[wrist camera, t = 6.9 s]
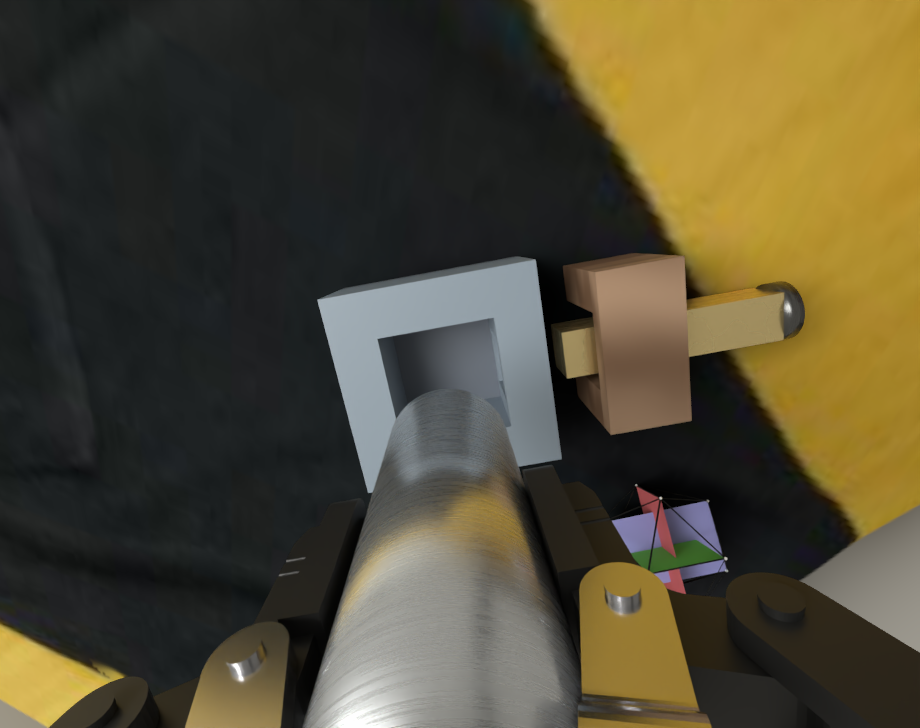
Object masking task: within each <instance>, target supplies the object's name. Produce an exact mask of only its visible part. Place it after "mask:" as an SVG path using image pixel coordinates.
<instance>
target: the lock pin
mask: <svg viewBox="0 0 920 728" xmlns="http://www.w3.org/2000/svg"><path fill="white" fill-rule="evenodd" d="M686 303H687V326H688V348H689V357H691V356H697V355H702V354H708V353H713V352H719V351H725V350H730V349H736V348H741V347H747V346H753V345H758V344H764V343H769V342H775V341H781V340H784V339H788V338H792V337H794V336H796V335H797V334H798V333H799V331H800V330H801V328H802V326H803V323H804V317H805V310H804V304H803V301H802V298H801V296H800V294H799V292H798V291H797V290H796V289H795V288H794V287H793V286H792V285H791V284H789V283H787V282H782V281H780V282H774V283H769V284H763V285H760V286H758V287H757V288H749V289H743V290H738V291H732V292H727V293H721V294H716V295H710V296H705V297H699V298H694V299H688V300H686ZM551 330H552V338H553V346H554V354H555V362H556V367H557V368H558V369H559V370H560V371H561V372H562V373H563V375H564V376H565V377H566V378H567V379H568V378H574V377H579V376H585V375H590V374H596V373H599V371H598V361H597V351H596V341H595V331H594V321H593V317H589V318H583V319H578V320H572V321H567V322H561V323H556V324H551Z"/></svg>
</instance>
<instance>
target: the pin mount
mask: <svg viewBox="0 0 920 728" xmlns="http://www.w3.org/2000/svg"><path fill="white" fill-rule="evenodd" d="M563 272H564V281H565V289H566V298H567V301H569V302H571V303H573V304H575V305H577V306H579V307H582V308H584V309H586V310H588V311H590V312H592V313H593V321H594V331H595V341H596V351H597V361H598V371H599V373H596V374H590V375H585V376H579V377H576V385H577V393H578V397H579V398H580V399H581V400H582V402H583V403H584V404H585V405H586V406H587V407H588V409H589V410H590V411H591V412H592V413H593V414H594V416H595V417H596V418H597V419H598V420H599V421H600V423H601V424H602V425H603V426H604V427H605V429H606V430H607V431H608V432H609V433H610V434H611V435H614V434H620V433H625V432H631V431H637V430H642V429H648V428H654V427H659V426H665V425H671V424H676V423H682V422H688V421H692V415H691V393H690V371H689V348H688V326H687V303H686V281H685V258H684V256H677V255H657V254H638V253H630V254H625V255H620V256H614V257H609V258H603V259H598V260H592V261H587V262H582V263H576V264H571V265H565V266H563Z"/></svg>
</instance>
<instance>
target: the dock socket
mask: <svg viewBox="0 0 920 728" xmlns="http://www.w3.org/2000/svg"><path fill="white" fill-rule="evenodd" d="M318 304H319V308H320V312H321V315H322V319H323V323H324V327H325V331H326V334H327V338H328V342H329V346H330V350H331V353H332V357H333V361H334V365H335V369H336V372H337V376H338V380H339V384H340V388H341V391H342V395H343V399H344V403H345V407H346V410H347V414H348V418H349V422H350V425H351V429H352V433H353V437H354V441H355V444H356V448H357V452H358V456H359V460H360V463H361V467H362V471H363V475H364V479H365V482H366V486H367V490H368V493H371V492H373V490H374V487H375V483H376V480H377V477H378V473H379V470H380V467H381V463H382V460H383V457H384V454H385V450H386V447H387V444H388V440H389V437H390V434H391V430H392V427H393V425H394V422H395V420H396V419H397V417H398V415H399V414H400V412H401V411H402V410H403V409H404V408H405V407H406V406H407V405H408V404H409V403H410V402H411V401H413V400H414V399H416V398H417V397H419V396H421V395H423V394H426V393H428V392H431V391H435V390H441V389H457V390H463V391H467V392H471V393H473V394H475V395H478V396H479V397H481V398H483V399H484V400H486V401H487V402H488V403H490V404H491V405H492V406H493V407H494V408H495V409H496V411H497V412H498V413H499V414H500V416H501V418H502V420H503V421H504V424H505V427H506V429H507V432H508V436H509V439H510V442H511V445H512V448H513V451H514V454H515V458H516V461H517V464H518V467H519V466H525V465H531V464H536V463H542V462H548V461H554V460H559V459H562V457H561V449H560V442H559V434H558V426H557V419H556V411H555V404H554V396H553V388H552V381H551V373H550V365H549V358H548V350H547V342H546V335H545V327H544V319H543V312H542V304H541V297H540V289H539V281H538V274H537V266H536V260H535V259H530V258H524V257H519V256H516V257H510V258H505V259H499V260H494V261H489V262H483V263H478V264H472V265H467V266H462V267H456V268H451V269H445V270H440V271H434V272H429V273H424V274H418V275H413V276H407V277H402V278H397V279H391V280H386V281H380V282H375V283H370V284H364V285H359V286H353V287H348V288H344V289H341V290H339V291H337V292H334V293H332V294H330V295H327V296H325V297H323V298H321V299H318Z"/></svg>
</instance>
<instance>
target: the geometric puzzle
mask: <svg viewBox="0 0 920 728" xmlns="http://www.w3.org/2000/svg"><path fill="white" fill-rule="evenodd" d="M636 487H637V491H638V495H639V499H640V503H641V506H639V507H636V508H634V509H632V510H629V511H627V512H625V511H626V508H627V506H628V504H629V502H630V500H631V497H632V495H633V493H634V491H635V488H636ZM641 487H642V486H638V485H637V484H635V488H634V490H633V492H632V494H631V497H630V499H629V501H628V503H627V506H626V508H625V510H624V512H623V513H622V514H619V515H617V516H615V517H612V518H610V520H611V519H613V518H616V517H618V516H621V515H622V517H623V515H624V514H625V513H628V512H630V511H633V510H635V509H638V508H640V507H642V510H643V514H642V515H637V516H632V517H628V518H623V519H622V517H621V519H618V520H613V521H612V522H613V524H614V526H615V527H616V529H617V531H618V532H619V534H620V536H621V537H622V539H623V541H624V542H625V544H626V546H627V548H628V549H629V551H630V553H631V554H632V556H633V558H634V559H635V561H636V563H637V564H638V566H640V567H643V568H645V569H647V570H649V571H650V572H652V573H653V574H655V575H656V576H657V577H658V578H659V579H660V580H661V581H662V582H663V584H664V585H665V587H666V588H667V589H670V590H673V591H676V592H679V593H684V594H686V593H685V589H684V585H683V584H685V583H688V582H691V581H695V580H698V579H701V578H705V577H708V576H711V575H715V574H718V573H721V572H725V571H726V572H728V570H727V566H726V565H725V562H726V560H727V557H725V554H724V551H723V548H722V551H723V554H724V556H723V554H722V551H721V547H722V545H721V547H720V544H721V542H720V543H719V541H720V538H719V535H718V532H717V533H716V531H717V529H715V528H716V525H715V522H714V519H713V516H712V513H711V509H710V506H709V503H708V502H709V500H703V499H699V500H690V499H673V498H662V497H658V496H656V495H654V494H653V493H651V492H649V491H647V490H645V489H643V488H641ZM644 488H647V487H644ZM649 489H652V488H649ZM653 490H656V489H653ZM658 491H661V490H658ZM662 492H665V491H662ZM667 493H670V492H667ZM672 494H675V493H672ZM676 495H679V494H676ZM626 496H627V495H626ZM626 496H625V497H626ZM681 496H684V495H681ZM625 497H624V498H625ZM685 497H689V496H685ZM624 498H623V499H624ZM690 498H693V497H690ZM623 499H622V500H623ZM663 499H671V500H690V501H704V502H699V503H694V504H689V505H685V506H680V507H675V508H672V507H671V506H670V505H668V504H667V503H666V502H665V501H664V500H663ZM695 499H698V498H695ZM622 500H621V501H622ZM661 500H662V501H663V502H664V503H665V504H666V505H667V506H669V507H670V509H666V510H664V509H663V505H662V502H661ZM621 501H620V502H621ZM620 502H619V503H620ZM619 503H618V504H619ZM618 504H617V505H618ZM617 505H616V506H617ZM616 506H615V507H616ZM615 507H614V508H615ZM614 508H613V509H614ZM613 509H612V510H613ZM612 510H611V511H612ZM611 511H610V512H611ZM610 512H609V513H610ZM609 513H608V514H609ZM717 535H718V536H717ZM718 538H719V540H718ZM724 561H725V562H724ZM712 573H713V574H712ZM707 574H710V575H707ZM724 574H725V573H724ZM702 575H707V576H703V577H700V578H697V579H694V580H690V581H687V582H684V583H683V582H682V580H683V579H688V578H693V577H697V576H702ZM716 576H717V575H716ZM716 576H715V578H716ZM722 577H723V576H722ZM715 578H714V580H715ZM714 580H713V582H714ZM720 580H721V579H720ZM713 582H712V584H713ZM718 583H719V582H718ZM718 583H717V584H718ZM712 584H711V586H712ZM711 586H710V587H711ZM716 586H717V585H716ZM716 586H715V587H716ZM709 589H710V588H709ZM714 589H715V588H714ZM714 589H713V590H714ZM708 591H709V590H708ZM708 591H707V593H708ZM712 592H713V591H712ZM712 592H711V593H712ZM707 593H706V595H707ZM706 595H705V596H706ZM709 596H710V595H709Z"/></svg>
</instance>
